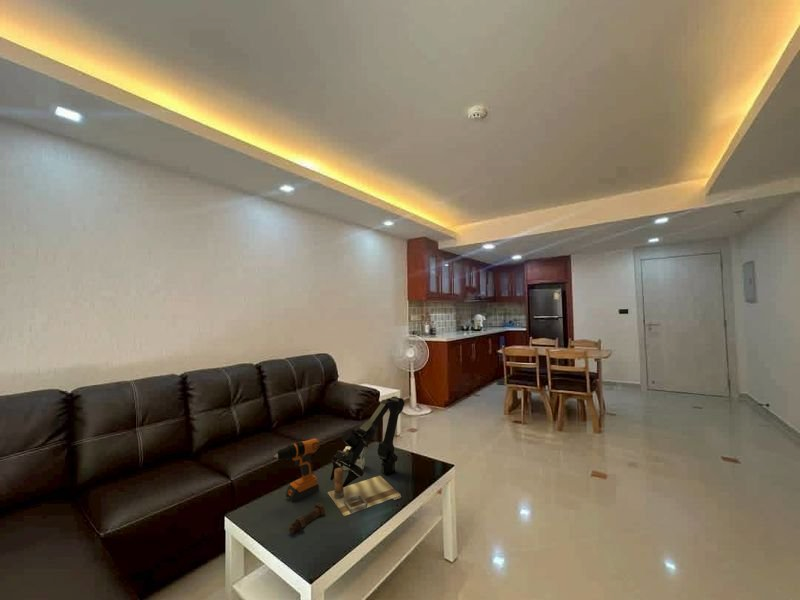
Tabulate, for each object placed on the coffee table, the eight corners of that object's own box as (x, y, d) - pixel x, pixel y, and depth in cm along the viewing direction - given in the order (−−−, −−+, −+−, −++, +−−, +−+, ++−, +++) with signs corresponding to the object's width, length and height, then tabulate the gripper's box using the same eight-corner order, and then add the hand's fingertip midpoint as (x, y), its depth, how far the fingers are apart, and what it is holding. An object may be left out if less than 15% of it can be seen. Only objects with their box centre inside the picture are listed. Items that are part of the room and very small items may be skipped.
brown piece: (341, 492, 154) (341, 466, 154) (345, 496, 150) (345, 470, 151) (332, 495, 152) (332, 469, 152) (336, 499, 148) (335, 473, 148)
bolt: (289, 538, 128) (320, 517, 140) (296, 537, 125) (326, 515, 137) (285, 523, 130) (315, 503, 142) (291, 521, 127) (322, 501, 139)
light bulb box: (364, 465, 183) (364, 446, 183) (362, 471, 176) (362, 451, 176) (346, 464, 184) (345, 445, 184) (342, 470, 177) (342, 450, 177)
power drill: (279, 511, 142) (278, 453, 143) (272, 503, 148) (271, 448, 148) (322, 491, 158) (322, 439, 158) (314, 485, 163) (314, 434, 163)
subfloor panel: (379, 477, 169) (379, 472, 169) (401, 497, 151) (400, 491, 151) (327, 494, 154) (327, 489, 154) (344, 519, 136) (344, 512, 136)
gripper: (334, 438, 161) (314, 469, 153) (358, 448, 148) (339, 483, 140) (346, 449, 167) (328, 479, 158) (371, 460, 154) (353, 493, 146)
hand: (336, 483), depth 150 cm, fingers open, 9 cm apart
